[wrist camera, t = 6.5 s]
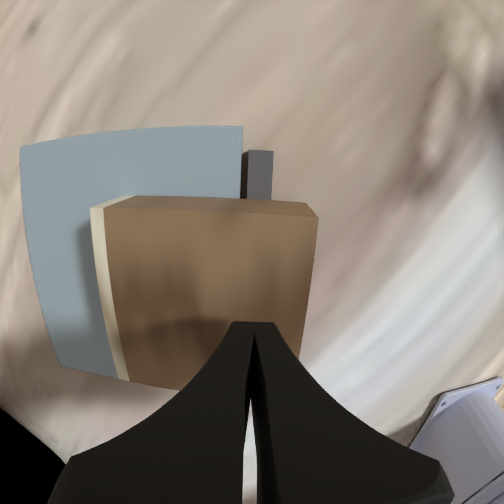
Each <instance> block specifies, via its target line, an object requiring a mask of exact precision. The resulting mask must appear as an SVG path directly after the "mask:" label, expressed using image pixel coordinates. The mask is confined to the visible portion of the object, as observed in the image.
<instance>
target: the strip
mask: <svg viewBox="0 0 504 504" xmlns="http://www.w3.org/2000/svg"><path fill="white" fill-rule="evenodd" d="M272 171H273V151H262V150H249V157H248V183H247V199H257V200H271V191H272Z"/></svg>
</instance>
